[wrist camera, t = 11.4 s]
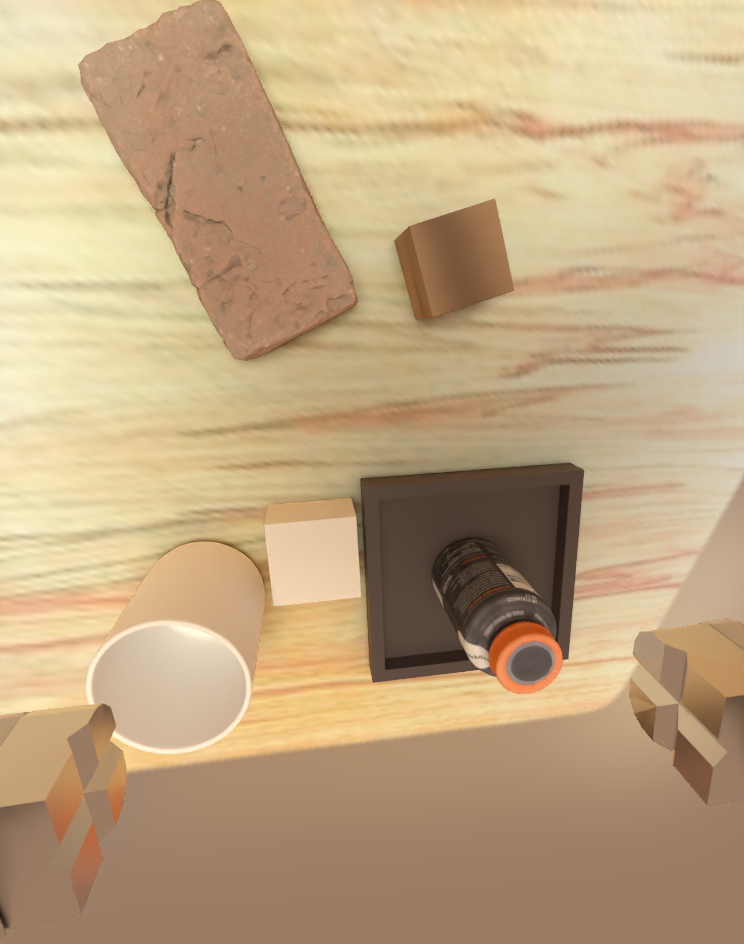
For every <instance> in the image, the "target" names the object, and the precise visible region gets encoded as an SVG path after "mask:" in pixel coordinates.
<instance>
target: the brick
mask: <svg viewBox="0 0 744 944" xmlns="http://www.w3.org/2000/svg"><path fill="white" fill-rule="evenodd" d="M79 69H80V74H81V83H82V86H83V88H84V90H85V92H86V94H87V96H88V98H89V100H90V101H91V102H92V103H93V105H94V108H95V110H96V112H97V114H98V117H99V119H100V121H101V123H102V125H103V126H104V128H105V129H106V131H107V134H108V136H109V138H110V140H111V142H112V144H113V146H114V148H115V150H116V152H117V153H118V155H119V157H120V158H121V160H122V162H123V163H124V165H125V166H126V168H127V169H128V171H129V172H130V174H131V175H132V177H133V178H134V180H135V181H136V183H137V185H138V186H139V188H140V190H141V192H142V194H143V196H144V197H145V198H146V199H147V201H148V202H149V203H150V204H151V205H152V207H153V208H154V209H155V210H156V212H155V214H156V217H157V218H158V220H159V221H160V223H161V224H162V226H163V227H164V229H165V230H166V232H167V234H168V236H169V237H170V239H171V240H172V242H173V245H174V247H175V250H176V252H177V254H178V255H179V257H180V260H181V262H182V264H183V266H184V267H185V269H186V271H187V273H188V275H189V278H190V280H191V283H192V285H193V286H194V287H196V289H197V293H198V296H199V299H200V301H201V303H202V304H203V306H204V308H205V309H206V311H207V313H208V315H209V317H210V319H211V321H212V323H213V325H214V326H215V328H216V330H217V331H218V333H219V334H220V336H221V337H222V338H223V339H224V344H225V345H226V347H227V349H228V350H229V352H230V353H231V355H232V356H233V358H234V359H239V360H249V359H253V358H256V357H258V356H260V355H261V354H265V353H267V352H269V351H271V350H273V349H275V348H276V347H277V346H280V345H282V344H284V343H286V342H288V341H289V340H291V339H293V338H295V337H297V336H299V335H301V334H303V333H305V332H307V331H309V330H311V329H313V328H315V327H317V326H319V325H321V324H323V323H324V322H326V321H327V320H329V319H331V318H333V317H335V316H337V315H339V314H341V313H343V312H345V311H347V310H348V309H350V308H352V307H354V306H355V305H356V303H357V302H358V301H357V297H356V294H355V290H354V286H353V281H352V276H351V274H350V271H349V269H348V267H347V265H346V263H345V261H344V260H343V258H342V256H341V254H340V253H339V251H338V249H337V248H336V246H335V244H334V243H333V241H332V239H331V237H330V235H329V233H328V231H327V229H326V227H325V224H324V222H323V220H322V219H321V216H320V214H319V212H318V210H317V208H316V206H315V203H314V201H313V199H312V196H311V194H310V192H309V190H308V188H307V186H306V183H305V181H304V179H303V177H302V175H301V172H300V170H299V167H298V165H297V163H296V160H295V158H294V156H293V154H292V151H291V148H290V146H289V144H288V141H287V139H286V137H285V135H284V133H283V130H282V128H281V126H280V124H279V121H278V119H277V117H276V115H275V113H274V110H273V108H272V106H271V104H270V102H269V100H268V97H267V95H266V92H265V91H264V89H263V87H262V85H261V83H260V81H259V79H258V76H257V74H256V72H255V70H254V68H253V65H252V63H251V60H250V58H249V56H248V54H247V51H246V49H245V47H244V45H243V42H242V40H241V38H240V37H239V35H238V33H237V32H236V30H235V28H234V26H233V24H232V22H231V20H230V18H229V16H228V14H227V12H226V11H225V9H224V8H223V6H222V5H221V3H220V2H218V1H216V0H201V1H198V2H195V3H193V4H191V5H190V6H181V7H179V8H178V10H174V11H169V12H165V13H163V14H162V15H161V16H160V18H159V19H158V21H157V22H155V23H153V24H151V25H149V26H148V27H147V28H144V29H139V30H137V31H136V32H135V33H133V34H132V35H131V36H129V37H127V38H125V39H124V40H119V41H115V42H111V43H107V44H106V45H105V46H104V47H102V48H101V49H99V50H97V51H95V52H93V53H90V54H88V55H86V56H85V57H84V59H83V60H82V61H81V62H80V63H79Z"/></svg>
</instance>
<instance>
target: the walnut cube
mask: <svg viewBox="0 0 744 944" xmlns="http://www.w3.org/2000/svg"><path fill="white" fill-rule="evenodd" d="M395 245H396V249H397V252H398V256H399V260H400V263H401V267H402V271H403V274H404V278H405V282H406V285H407V289H408V293H409V297H410V300H411V304H412V308H413V311H414V315H415V319H418V318H433V317H436V316H439V315H442V314H445V313H448V312H451V311H454V310H457V309H460V308H463V307H466V306H469V305H472V304H475V303H478V302H481V301H485V300H488V299H491V298H494V297H497V296H500V295H503V294H506V293H509V292H512V291H514V287H513V282H512V278H511V273H510V268H509V263H508V258H507V254H506V249H505V244H504V239H503V234H502V229H501V225H500V220H499V215H498V210H497V205H496V201H495V199H492V200H489V201H486V202H483V203H480V204H477V205H473V206H470V207H467V208H464V209H461V210H458V211H455V212H452V213H449V214H446V215H443V216H440V217H436V218H433V219H430V220H427V221H424V222H421V223H418V224H415V225H412V226H409V227H408V228H407V229H406V230H405V231H404V232H403V233H402V234H401V235H400V236H399V237H398V238H397V239H396V240H395Z"/></svg>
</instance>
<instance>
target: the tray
mask: <svg viewBox="0 0 744 944" xmlns="http://www.w3.org/2000/svg"><path fill="white" fill-rule="evenodd" d="M583 477H584V470H583V469H581V468H579V467H577V466H575V465H573V464H571V463H563V464H550V465H537V466H524V467H510V468H497V469H484V470H471V471H457V472H444V473H431V474H418V475H405V476H391V477H378V478H365V479H361V497H362V518H363V538H364V558H365V578H366V599H367V619H368V639H369V660H370V670H371V675H372V680H373V682H381V681H390V680H398V679H406V678H415V677H423V676H431V675H440V674H448V673H456V672H465V671H473V670H480V669H478V668H477V667H476V666H475V665H474V664H473V663H472V662H471V660H470V659H469V657H468V656H467V654H466V652H465V650H464V648H463V646H462V644H461V643H460V640H459V638H458V636H457V634H456V632H455V630H454V628H453V626H452V624H451V622H450V620H449V618H448V616H447V614H446V612H445V610H444V608H443V606H442V604H441V602H440V600H439V598H438V596H437V594H436V592H435V589H434V586H433V581H432V573H433V569H434V566H435V563H436V561H437V559H438V558H439V556H440V555H441V554H442V552H443V551H444V550H446V549H447V548H448V547H450V546H451V545H453V544H455V543H457V542H459V541H462V540H468V539H481V540H484V541H487V542H490V543H492V544H493V545H495V546H496V547H497V548H498V549H499V550H500V551H501V552H502V553H503V554H504V556H505V557H506V558H507V559H508V560H509V561H510V563H511V564H512V565H513V566H514V567H515V568H516V570H517V571H518V572H519V573H520V574H521V575H522V576H523V578H524V579H525V580H526V581H527V582H528V583H529V584H530V586H531V587H532V588H533V589H534V590H535V591H536V593H537V594H538V595H539V596H540V597H541V598H542V599H543V601H544V602H545V603H546V604H547V605H548V606H549V608H550V609H551V611H552V613H553V615H554V618H555V622H556V629H557V631H556V639H555V640H556V642H557V643H558V645H559V646H560V648H561V651H562V657H563V660H565V659H568V655H569V644H570V632H571V620H572V608H573V596H574V584H575V572H576V560H577V548H578V537H579V525H580V513H581V501H582V489H583Z"/></svg>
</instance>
